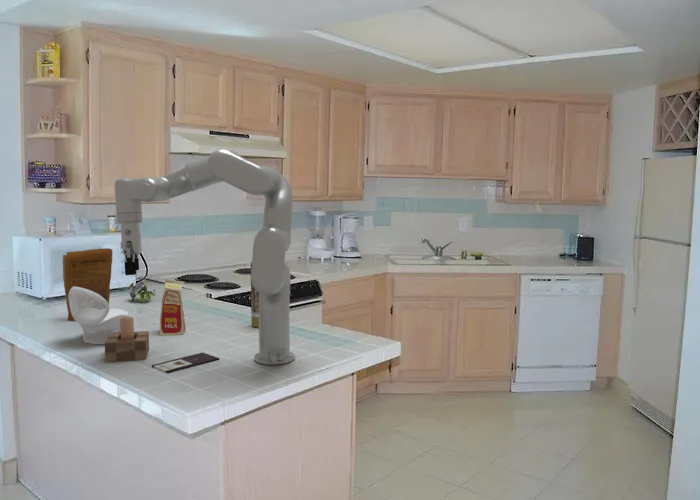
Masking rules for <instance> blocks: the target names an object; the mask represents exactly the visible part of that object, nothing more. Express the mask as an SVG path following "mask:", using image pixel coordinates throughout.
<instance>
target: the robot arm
mask: <svg viewBox="0 0 700 500" xmlns="http://www.w3.org/2000/svg"><path fill="white" fill-rule="evenodd" d="M222 182H225V183H226V184H228V185H231V187H235V188H237V189H239V190H241V191H243V192H245V193H247V194H250V195H253V196H264V200H265V201H264V209H263V222H262V223H263V224H262V229H260V230H259V231H258V232H257V233H256V234H255V237H254V239H253V244H252V246H253V247H252V259H251V261H252V272H251V271H250V281H251V280H252V285H253V287H254V289H255V290H256V291H257V292H258V293H259V327H258V352H257V353H256V354H255V355H254V356H253V359H254V361H255V362H256V363H257V364H261V365H268V366H269V365H271V366H277V365H284V364H288V363H291V362H293V361H294V360H295V357H296V356H295V353H294V352H291V350H290V346H291V345H290V343H291V342H290V339H291V338H290V336H291V335H290V297H291V296H290V295H291V279H292V277H291V276H292V275H291V270H290V268H289V266H288V264H287V263H286V262H285V261H286V258H285V257H286V253H287V251H288V250H289V249H290V247H291V242H292V240H291V238H292V221H293V220H292V219H293V192H292V189H291V188H292V187H291V185H290V183H289V182H288V179H287V178H286V177H285V176H284V175H283V174H282V173H280V172H279V171H277V170H276V169H274V168H272V167H268V166H259V165H257V164H255V163H253V162H252V161H248V160H247V159H244V158H242V156H241V155H240V154H239V152H236V151H234V150H232V149H231V150H230V149H225V148H224V149H223V148H221V149H220V148H219V149H217V150H215V151H213V152H212V153H211V154H210V155H209V156H206V157H203V158H199V159H196V160H193V161H190V162H187V163H186V164H185V166H184V167H183V168H181V169H180V170H177V171H175V172H172V173H168V174H166V175H161V176H154V177H152V176H151V177H150V176H149V177H147V176H146V177H142V178H141V177H140V178H133V177H132V178H130V177H129V178H126V177H125V178H123V177H122V178H117V179H116V180H115V181H114V199H115V200H114V201H115V213H116V215H115V218H116V224H117V225H118V224H119V225H120V235H121V249H122V254H123V256H124V275H125V276H136V275H137V271H139V270H140V262H139V261H140V260H139V255H140V254H141V253H142V251H143V250H142V241H141V239H142V237H141V228H140V224H141V223H143V211H142V202H143V203H154V202H161V201H166V200H169V199H173V198H175V197H179V196H182V195H185V194H188V193H191V192H195V191H197V190H200V189H204V188H207V187H210V186H212V185H215V184H218V183H222Z"/></svg>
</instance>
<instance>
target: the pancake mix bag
mask: <svg viewBox="0 0 700 500" xmlns="http://www.w3.org/2000/svg"><path fill="white" fill-rule="evenodd" d="M65 253H66V254H63V255H62V279H63V287H64V293H65V301H66V303H65V304H66V307H67V313H68V314H67V321H69V322H70V321H71V322H76V321H75V319H74V318H73V316H72V314H71V311H70V306H69V299H68V295H69V291H70V289H71V288H72V287H80V288H84V289H88V290H90V291H93V292H95V293H97V294H99V295H100V296H102V297H103V298H104V299H105V300H106V301H107V302H108V304H109V305H110V296H111V294H110V293H111V291H110V289H111V287H110V286H111V279H112V265H113V249H111V248H109V247H108V248H107V247H106V248H94V249H93V248H91V249H86V250H75V251H67V252H65ZM77 292H78V291H77ZM78 293H79V292H78ZM81 293H82V292H81ZM84 293H85V292H84ZM79 295H81V294H79ZM84 296H85V295H84ZM89 296H90V295H89ZM82 297H83V296H82ZM95 297H96V296H95ZM71 298H72V297H71ZM84 298H85V297H84ZM89 298H90V297H89ZM78 299H80V298H78ZM82 299H83V298H82ZM93 299H94V298H93ZM93 299H92V300H93ZM95 299H96V298H95ZM95 299H94V300H95ZM97 299H98V298H97ZM87 300H88V298H87ZM99 300H100V298H99ZM83 301H84V300H83ZM85 301H86V299H85ZM89 301H90V300H89ZM95 301H96V302H97V300H95ZM95 301H94V303H95ZM100 301H101V300H100ZM102 302H103V301H102ZM81 303H82V302H81ZM88 303H89V302H88ZM97 303H98V302H97ZM89 304H90V303H89ZM92 304H93V303H92ZM101 304H102V303H101ZM98 305H99V304H97V306H98ZM102 305H103V304H102ZM87 306H88V305H87ZM91 306H92V305H91ZM97 306H96V308H97ZM105 306H106V305H105ZM79 307H80V306H79ZM73 308H74V307H73ZM83 308H84V307H83ZM83 308H82V309H83ZM93 308H95V307H94V306H93ZM98 308H99V307H98ZM98 308H97V309H98ZM103 308H105V307H103ZM79 312H80V311H79Z"/></svg>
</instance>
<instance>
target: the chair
mask: <svg viewBox="0 0 700 500" xmlns="http://www.w3.org/2000/svg"><path fill="white" fill-rule="evenodd" d="M77 291H78V292H79V293H78V292H77ZM81 292H82V293H81ZM84 292H85V293H84ZM79 294H81V295H79ZM84 295H85V296H84ZM89 295H90V296H89ZM82 296H83V297H82ZM95 296H96V297H95ZM71 297H72V298H71ZM84 297H85V298H84ZM89 297H90V298H89ZM78 298H80V299H78ZM82 298H83V299H82ZM87 298H88V300H87ZM93 298H94V299H95V298H96V299H95V300H97V302H98V303H97V302H96V301H95V300H94V299H93ZM97 298H98V299H97ZM99 298H100V300H101V301H100V300H99ZM68 299H69V306H70V311H71V314H72V316H73V318H74V319H75V321H74V322H76V323H78V324H79V325H80V327H81V329H82V332H83V337H82V341H83V342H84V343H87V344H91V345H105V341H106V339H107V338H108V336H109V334H110V333H121V330H120V318H123V317H130V314H129V312H128V311H127V310H124V309H119V308H110V303H109V304H108V302H107V301H106V300H105V299H104V298H103V297H102V296H100V295H99V294H97V293H95V292H93V291H90V290H88V289H84V288H80V287H72V288H71V289H70V291H69V295H68ZM85 299H86V301H85ZM92 299H93V300H92ZM83 300H84V301H83ZM89 300H90V301H89ZM94 301H95V303H94ZM102 301H103V302H102ZM81 302H82V303H81ZM88 302H89V303H90V304H89V303H88ZM92 303H93V304H92ZM101 303H102V304H103V305H102V304H101ZM97 304H99V305H98V306H97ZM87 305H88V306H87ZM91 305H92V306H91ZM105 305H106V306H105ZM79 306H80V307H79ZM93 306H94V307H95V308H93ZM96 306H97V308H98V307H99V308H98V309H97V308H96ZM73 307H74V308H73ZM83 307H84V308H83ZM103 307H105V308H103ZM82 308H83V309H82ZM79 311H80V312H79Z"/></svg>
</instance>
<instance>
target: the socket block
mask: <svg viewBox="0 0 700 500" xmlns="http://www.w3.org/2000/svg"><path fill="white" fill-rule="evenodd" d="M149 333H150V332H149V330H146V331H145V330H143V331H134V339H121V333H117V332H116V333H110V334H109V336H108V338H107V339H106V341H105V344H104V361H105V363H109V362H110V363H111V362H125V361H139V360H141V361H142V360H147V358H148V355H149V351H150V336H149Z"/></svg>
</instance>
